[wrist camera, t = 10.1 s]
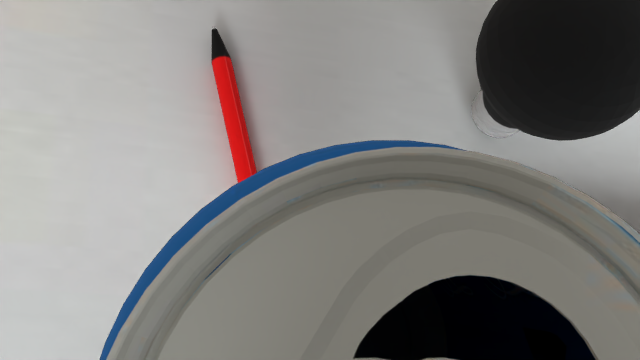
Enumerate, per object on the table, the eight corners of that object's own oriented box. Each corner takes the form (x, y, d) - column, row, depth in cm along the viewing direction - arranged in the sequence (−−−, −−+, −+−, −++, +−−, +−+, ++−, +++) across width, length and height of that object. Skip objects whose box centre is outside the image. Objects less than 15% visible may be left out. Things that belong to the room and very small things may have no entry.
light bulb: (403, 117, 24) (473, 6, 15) (485, 36, 25) (602, -120, 16) (497, 205, 24) (636, 151, 14) (577, 118, 25) (759, 11, 15)
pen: (299, 456, 21) (299, 465, 20) (205, 32, 25) (201, 21, 24) (320, 450, 21) (321, 459, 20) (224, 29, 25) (220, 17, 24)
